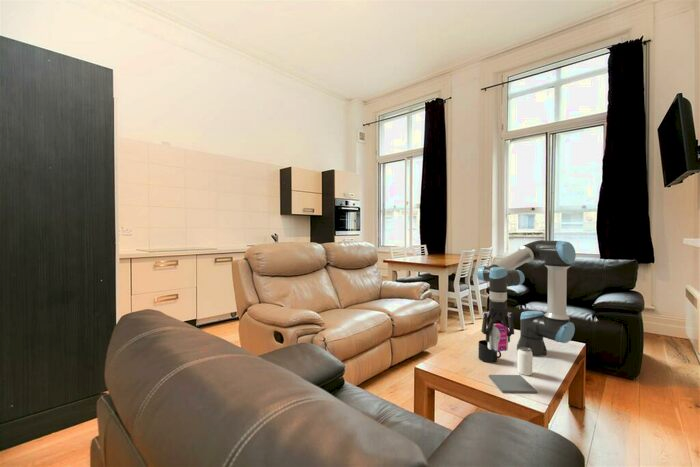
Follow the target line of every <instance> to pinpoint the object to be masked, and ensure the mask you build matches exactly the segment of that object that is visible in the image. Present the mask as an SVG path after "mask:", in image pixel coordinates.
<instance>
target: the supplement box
mask: <svg viewBox="0 0 700 467" xmlns="http://www.w3.org/2000/svg"><path fill="white" fill-rule="evenodd" d="M490 335H491V349H492V350H494V351H496V352H497V353H499V352H498V351H500V352H506V351H508V350H507V327H506V326H504V325H502V323H494V325H493V328H492V330H491V333H490Z"/></svg>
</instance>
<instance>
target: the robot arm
mask: <svg viewBox="0 0 700 467" xmlns="http://www.w3.org/2000/svg"><path fill="white" fill-rule="evenodd" d="M576 257H577V256H576V249H575V247H574V245H573V244H572V243H571V242H569V241H564V240H544V239H541V240H535V241H531V242H529V243H526V244H524V245H522V246H519V247H518V249H517V251H515V252H513V253H511V254H509V255H507V256H505V257H504V258H502V259H500V260H498V261H496V262H495V263H492V264H490V265H488V266H485V265H484V266H479V267H478V269H477V270H476V276H477V279H478V280H480V281H483V282H487V283H489V296H488V298H489V300H488V301H489V304H488V306H489V308H488V311H486V312H485V311H482V324H481V333H482V334H483V335H485V340H486V341H487V342H488V348H489V349H490V350H491V335H490V333H491V330H492V328H493V325H494V324H496V321H501V324H502V325H504V326H506V327H507V350H506V351H509V343H510V341H511V337H512V335H515V326H514V315H515V314H514V313H513V312H509V311H508V310H507V309H508V302H507V300H508V287H517V286H520V285H523V283H524V282H525V278H526V277H525V274H524V273H523V271H522V270H519V269H516V268H518V267H521V266H522V265H524V264H526V263H531V262H534V261H537V262H538V261H540V262H544V266H545V267H546V268H547V310H546V311H547V312H545V313H544V312H542V311H538V310H525V311H522V312H521V313H520V318H519V319H520V321H519V322H520V332H519V333H520V337H519V339H518V341H517V344H516V350H517V351H518V349H519V347H527V348H530V349H531V351H532V357H544V356H546V355H547V352H548V351H547V347H546V344H545V342H544V341H545V340H544V339H547V340H551V341H555V342H557V343H561V344H566V343H567V344H568V343H570V341H571V340H572V338H573V337H574V334H575V332H576V331H575V330H576V328H575V323H574V322H571V321H570V320H571V319H570V316H569V315H568V314H567V284H568V283H567V279H568V278H567V276H568V275H567V274H568V269H569V268H570V267H571V265H572V264H573V263H574V262H575V260H576ZM489 316H490V318H488V317H489ZM506 317H507V321H508V325H507V321H506ZM488 319H489V323H488Z"/></svg>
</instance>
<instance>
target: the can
mask: <svg viewBox="0 0 700 467" xmlns="http://www.w3.org/2000/svg"><path fill="white" fill-rule="evenodd" d="M516 365H517V369H516V370H517V372H518V374H519V375H521V376H527V377H529V376H532V374H533V356H532V351H531V349H530V348H527V347H519V349H518V350H517V364H516Z"/></svg>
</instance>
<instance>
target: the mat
mask: <svg viewBox="0 0 700 467" xmlns="http://www.w3.org/2000/svg"><path fill="white" fill-rule="evenodd" d="M488 378H489V379H490V380H491V381H492V382H493V384H494V385H495V386H496V387H497V389H499V391H500V392H501V393H503V394H504V393H505V394H508V393H509V394H538V389H536V388H535V387H534V386H533V385H532V384H530V383H529V381H527V380H526V379H525V378H524V377H523V375H522V374H488Z"/></svg>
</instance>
